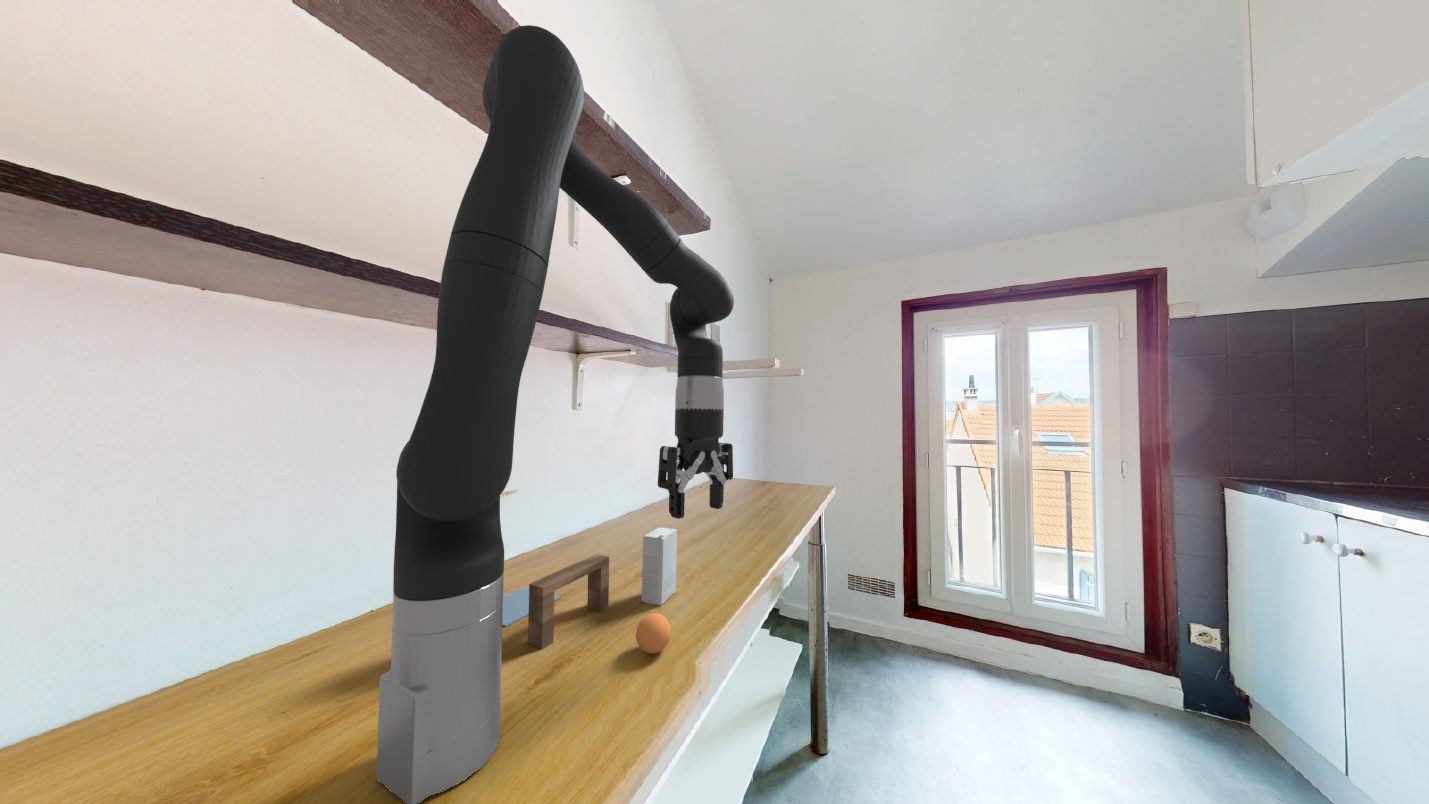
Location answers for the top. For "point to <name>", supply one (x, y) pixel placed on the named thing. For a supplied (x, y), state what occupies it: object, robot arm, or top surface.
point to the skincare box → (659, 565)
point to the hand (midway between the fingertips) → (697, 512)
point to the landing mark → (516, 606)
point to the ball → (653, 633)
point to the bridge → (545, 587)
